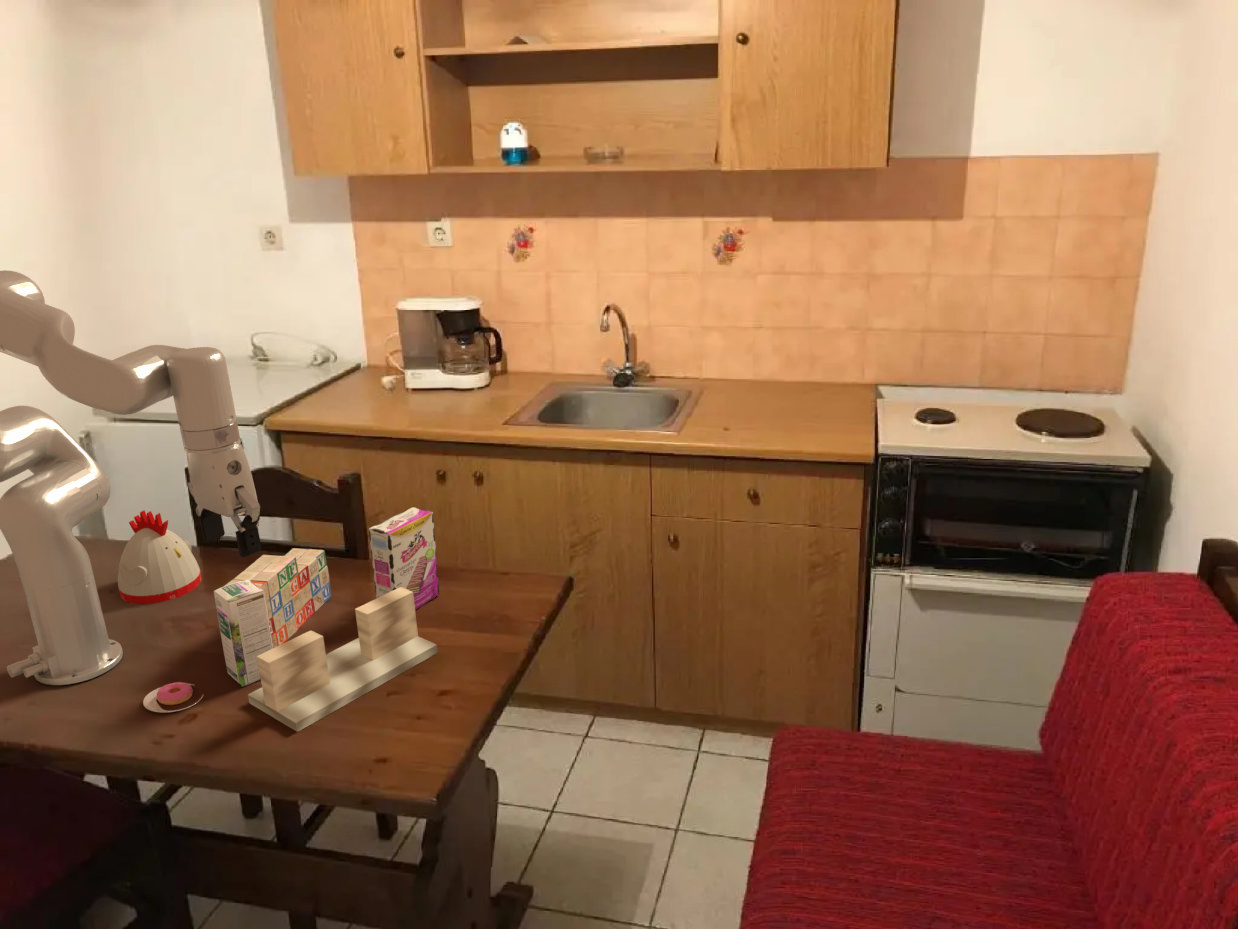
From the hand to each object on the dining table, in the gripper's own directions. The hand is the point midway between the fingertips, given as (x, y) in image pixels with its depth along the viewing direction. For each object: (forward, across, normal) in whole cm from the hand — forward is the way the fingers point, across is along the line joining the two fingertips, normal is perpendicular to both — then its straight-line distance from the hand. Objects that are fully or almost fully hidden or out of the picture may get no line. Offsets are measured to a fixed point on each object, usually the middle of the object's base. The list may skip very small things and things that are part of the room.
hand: (232, 545), depth 145 cm
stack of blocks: (+22, +10, -12) cm, 27 cm away
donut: (+22, +4, +13) cm, 26 cm away
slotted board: (+22, -12, -8) cm, 26 cm away
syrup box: (+22, +1, 0) cm, 22 cm away
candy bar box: (+22, -2, -29) cm, 36 cm away
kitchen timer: (+22, +42, -7) cm, 47 cm away
